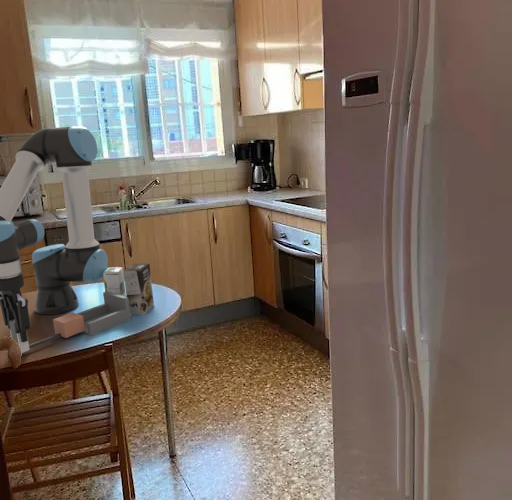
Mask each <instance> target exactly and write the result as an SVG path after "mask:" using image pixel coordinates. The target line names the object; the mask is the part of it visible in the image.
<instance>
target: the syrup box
mask: <svg viewBox="0 0 512 500" xmlns="http://www.w3.org/2000/svg"><path fill="white" fill-rule="evenodd" d="M102 278H103V283H104V284H103V285H104V292H106V291H107V292H111V293H114V294H118V295H122V296H126V288H125V279H124V267H123V266H122V267H120V266H114V267H112V266H111V267H107V269H106V270H105V271H104V272H103V277H102Z"/></svg>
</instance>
